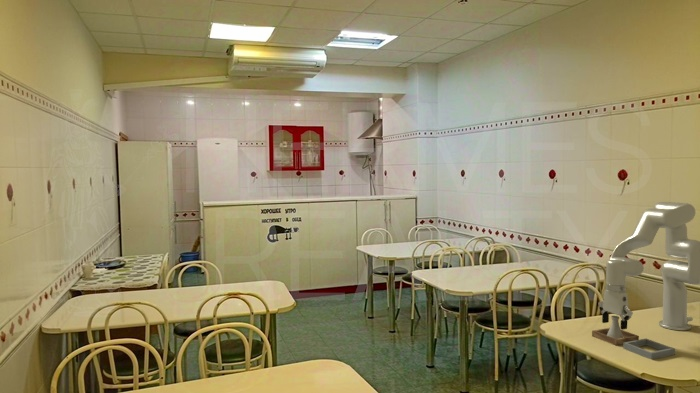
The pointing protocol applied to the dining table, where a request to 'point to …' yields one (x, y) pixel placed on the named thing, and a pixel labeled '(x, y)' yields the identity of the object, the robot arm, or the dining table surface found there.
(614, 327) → the flask
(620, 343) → the bin walnut
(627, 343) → the bin grey
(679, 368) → the dining table surface
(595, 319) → the dining table surface
